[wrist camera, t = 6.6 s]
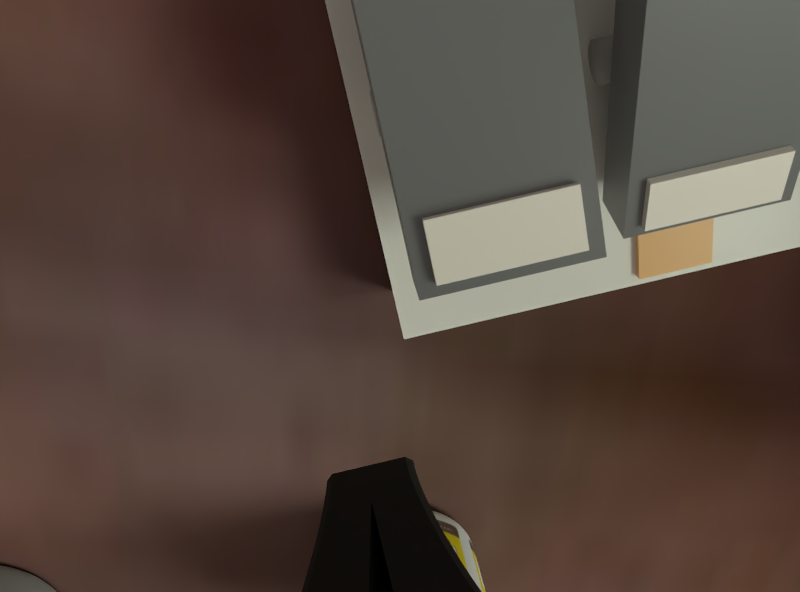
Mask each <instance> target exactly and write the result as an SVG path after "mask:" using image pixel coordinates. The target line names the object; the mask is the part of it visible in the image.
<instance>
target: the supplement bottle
mask: <svg viewBox="0 0 800 592" xmlns="http://www.w3.org/2000/svg"><path fill="white" fill-rule="evenodd" d="M433 513H434V515H435V517H436V519H437V521H438V523H439V525H440V527H441V528H442V530H443V532H444V534H445V535H446V537H447V539H448V540H449V542H450V544H451V545H452V547H453V549H454V550H455V552H456V554H457V555H458V557H459V558H460V560H461V562H462V563H463V565H464V566H465V568H466V569H467V571H468V573H469V574H470V576H471V577H472V579H473V580H474V581H475V583H476V584H477V586H478V587H479V589H480V590H481V592H485V587H484V584H483V580H482V577H481V573H480V570H479V566H478V562H477V558H476V555H475V552H474V548H473V545H472V543H471V540H470V538H469V536H468V535H467V533H466V532H465V530H464V529H463V528H462V527H461V526H460V525H459V524H458V523H457V522H455V521H454V520H452V519H451V518H449V517H447V516H445V515H443V514H441V513H438V512H435V511H433Z"/></svg>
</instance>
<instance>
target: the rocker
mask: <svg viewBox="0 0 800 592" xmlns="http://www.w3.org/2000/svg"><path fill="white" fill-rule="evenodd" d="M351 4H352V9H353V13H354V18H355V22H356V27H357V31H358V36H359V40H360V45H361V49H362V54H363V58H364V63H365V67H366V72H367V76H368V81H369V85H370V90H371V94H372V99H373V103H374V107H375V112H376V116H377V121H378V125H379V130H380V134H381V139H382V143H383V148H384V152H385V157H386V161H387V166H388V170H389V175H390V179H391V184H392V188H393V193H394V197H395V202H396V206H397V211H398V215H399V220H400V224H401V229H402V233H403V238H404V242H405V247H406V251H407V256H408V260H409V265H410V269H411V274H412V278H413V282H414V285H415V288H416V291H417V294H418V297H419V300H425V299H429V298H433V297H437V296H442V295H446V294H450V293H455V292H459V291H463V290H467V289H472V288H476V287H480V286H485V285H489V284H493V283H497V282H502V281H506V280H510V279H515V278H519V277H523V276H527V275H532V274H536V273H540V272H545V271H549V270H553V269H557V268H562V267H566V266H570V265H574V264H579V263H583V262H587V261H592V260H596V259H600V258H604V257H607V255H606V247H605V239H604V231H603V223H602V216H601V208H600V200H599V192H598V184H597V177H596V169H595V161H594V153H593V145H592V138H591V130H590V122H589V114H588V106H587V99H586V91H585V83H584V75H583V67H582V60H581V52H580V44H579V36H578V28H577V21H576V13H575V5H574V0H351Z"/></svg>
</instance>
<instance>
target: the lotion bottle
mask: <svg viewBox="0 0 800 592" xmlns="http://www.w3.org/2000/svg"><path fill="white" fill-rule="evenodd" d="M0 592H56V591H55V589H53V588H52V587H51V586H50V585H49V584H47V583H46V582H45V581H43V580H41V579H40V578H38V577H36V576H34V575H32V574H29V573H27V572H24V571H21V570H18V569H15V568H11V567H6V566H0Z"/></svg>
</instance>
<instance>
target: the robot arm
mask: <svg viewBox="0 0 800 592" xmlns="http://www.w3.org/2000/svg"><path fill="white" fill-rule="evenodd" d="M302 592H481V590H480V589H479V587H478V586H477V584H476V583H475V581H474V580H473V579H472V577H471V576H470V574H469V573H468V571H467V569H466V568H465V566H464V565H463V563H462V562H461V560H460V558H459V557H458V555H457V554H456V552H455V550H454V549H453V547H452V545H451V544H450V542H449V540H448V539H447V537H446V535H445V534H444V532H443V530H442V528H441V527H440V525H439V523H438V521H437V519H436V517H435V515H434V513H433V511H432V509H431V507H430V505H429V503H428V501H427V499H426V497H425V495H424V492H423V490H422V488H421V485H420V483H419V480H418V477H417V474H416V470H415V467H414V463H413V460H411V459H409V458H406V457H403V458H398V459H394V460H390V461H386V462H381V463H377V464H373V465H369V466H364V467H360V468H356V469H352V470H347V471H343V472H339V473H335V474H332V475H331V477H330V478H329V479H328V480H327V489H326V496H325V502H324V508H323V513H322V518H321V523H320V527H319V531H318V535H317V540H316V544H315V548H314V552H313V555H312V559H311V562H310V566H309V569H308V573H307V576H306V580H305V583H304V587H303V590H302Z"/></svg>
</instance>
